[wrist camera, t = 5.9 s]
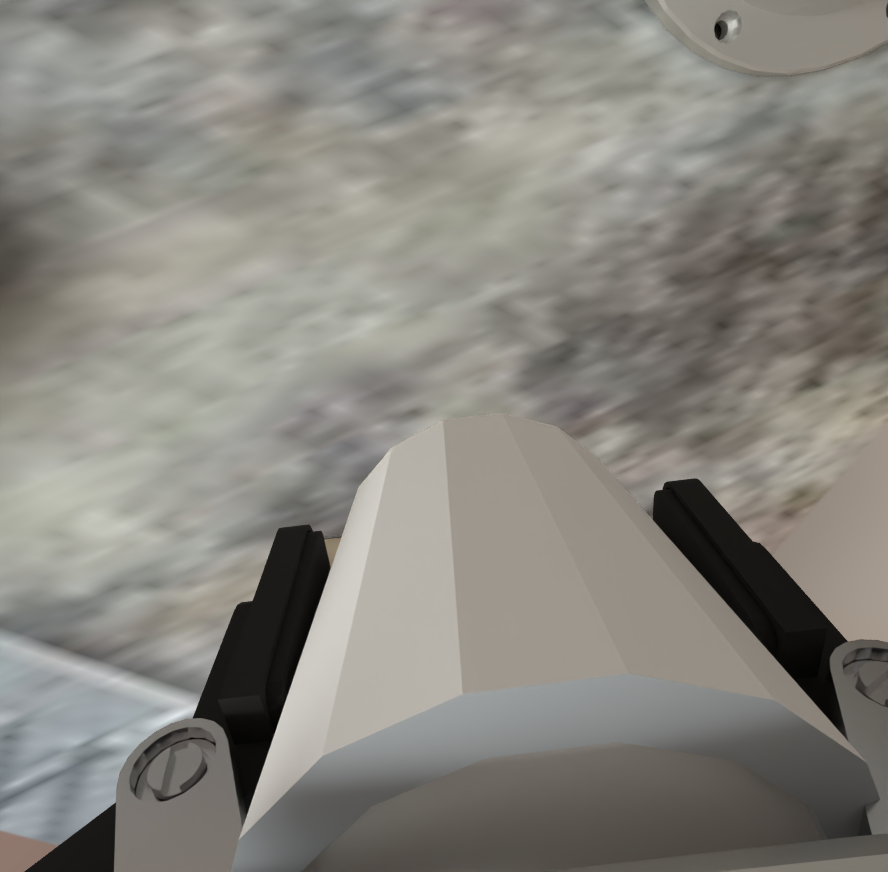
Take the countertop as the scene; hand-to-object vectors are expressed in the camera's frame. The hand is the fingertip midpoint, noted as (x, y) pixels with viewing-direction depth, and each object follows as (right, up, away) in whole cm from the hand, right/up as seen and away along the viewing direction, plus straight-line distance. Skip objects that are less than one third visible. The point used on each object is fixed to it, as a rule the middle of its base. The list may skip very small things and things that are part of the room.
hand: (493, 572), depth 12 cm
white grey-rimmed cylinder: (0, +1, +1) cm, 1 cm away
